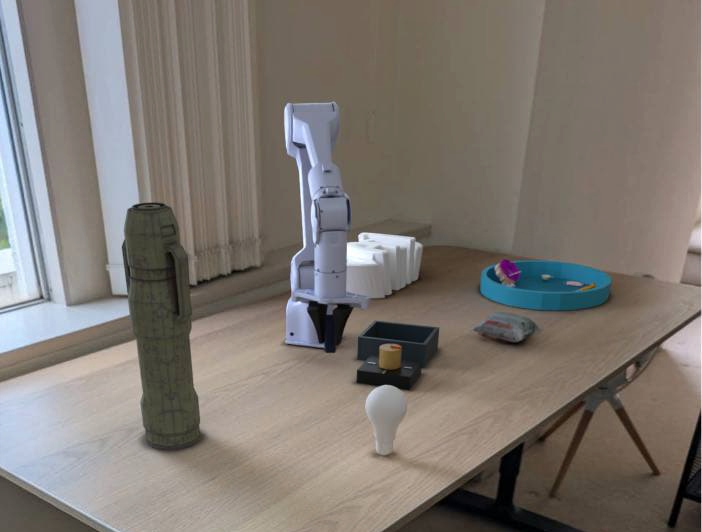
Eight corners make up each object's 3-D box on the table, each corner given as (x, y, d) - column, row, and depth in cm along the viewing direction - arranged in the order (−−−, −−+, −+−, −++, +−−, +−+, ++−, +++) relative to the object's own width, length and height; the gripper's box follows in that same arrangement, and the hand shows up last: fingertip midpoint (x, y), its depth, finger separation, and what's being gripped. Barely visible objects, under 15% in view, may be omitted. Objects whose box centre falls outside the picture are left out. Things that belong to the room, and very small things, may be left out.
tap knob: (375, 368, 146) (376, 347, 144) (382, 360, 149) (383, 340, 147) (397, 370, 145) (398, 350, 143) (403, 363, 148) (404, 343, 146)
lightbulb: (360, 446, 125) (363, 379, 119) (399, 444, 125) (403, 377, 119) (367, 464, 120) (369, 395, 114) (407, 462, 120) (412, 393, 114)
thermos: (185, 457, 122) (162, 215, 104) (127, 440, 128) (94, 207, 109) (220, 435, 129) (203, 203, 110) (163, 420, 134) (138, 196, 116)
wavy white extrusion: (365, 307, 186) (367, 260, 181) (307, 296, 195) (306, 251, 189) (434, 273, 211) (437, 231, 205) (379, 265, 219) (381, 224, 213)
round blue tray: (509, 270, 213) (512, 247, 210) (625, 286, 198) (629, 262, 195) (459, 297, 192) (461, 272, 189) (583, 318, 177) (588, 291, 174)
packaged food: (520, 350, 160) (523, 326, 158) (467, 338, 167) (470, 315, 164) (540, 339, 166) (543, 316, 163) (488, 328, 172) (491, 305, 170)
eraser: (324, 349, 152) (324, 313, 149) (336, 349, 152) (336, 313, 149) (324, 353, 151) (324, 317, 147) (336, 353, 150) (336, 317, 147)
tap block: (356, 383, 147) (356, 369, 145) (369, 368, 153) (370, 354, 152) (409, 390, 144) (410, 376, 142) (421, 374, 150) (422, 360, 149)
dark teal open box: (357, 359, 157) (357, 336, 155) (373, 342, 166) (374, 320, 163) (424, 368, 153) (425, 344, 150) (437, 349, 161) (439, 327, 159)
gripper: (284, 271, 143) (285, 345, 150) (362, 278, 138) (360, 354, 145) (299, 261, 148) (299, 333, 155) (374, 268, 143) (371, 342, 151)
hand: (329, 342), depth 151 cm, fingers closed on eraser, 2 cm apart
